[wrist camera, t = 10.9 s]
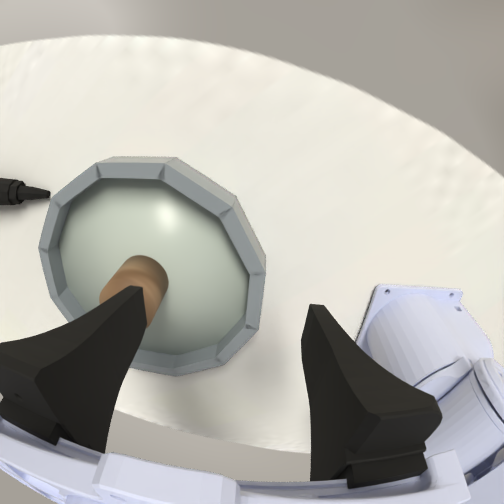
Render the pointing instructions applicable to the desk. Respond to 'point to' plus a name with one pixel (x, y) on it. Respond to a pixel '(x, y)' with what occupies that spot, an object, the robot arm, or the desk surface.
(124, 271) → the brown rounded piece
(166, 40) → the desk surface
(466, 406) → the robot arm
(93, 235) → the round tray
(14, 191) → the microphone
